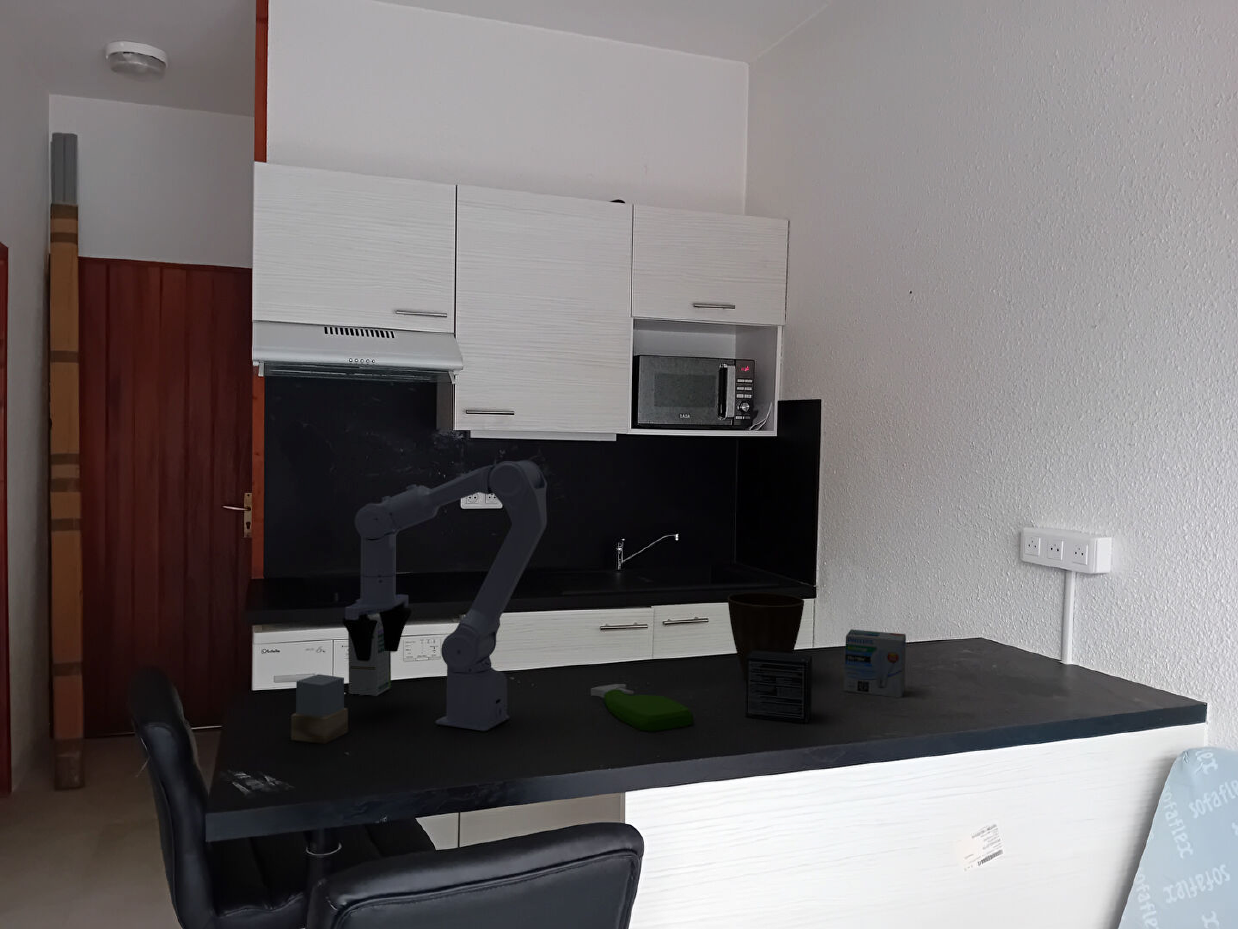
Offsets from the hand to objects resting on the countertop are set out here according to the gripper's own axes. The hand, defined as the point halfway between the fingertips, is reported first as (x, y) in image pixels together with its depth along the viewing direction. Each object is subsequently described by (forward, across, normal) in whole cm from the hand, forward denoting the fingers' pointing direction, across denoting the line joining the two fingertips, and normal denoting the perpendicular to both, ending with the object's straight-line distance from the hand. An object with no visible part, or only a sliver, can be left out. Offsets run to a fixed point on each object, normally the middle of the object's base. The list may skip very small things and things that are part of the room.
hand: (377, 655), depth 155 cm
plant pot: (+10, -51, +54) cm, 75 cm away
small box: (+10, -28, +62) cm, 69 cm away
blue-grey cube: (+6, +13, -1) cm, 14 cm away
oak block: (+10, +13, -1) cm, 16 cm away
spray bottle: (+11, -21, +38) cm, 45 cm away
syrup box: (+10, -11, -10) cm, 18 cm away
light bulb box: (+10, -52, +75) cm, 92 cm away
